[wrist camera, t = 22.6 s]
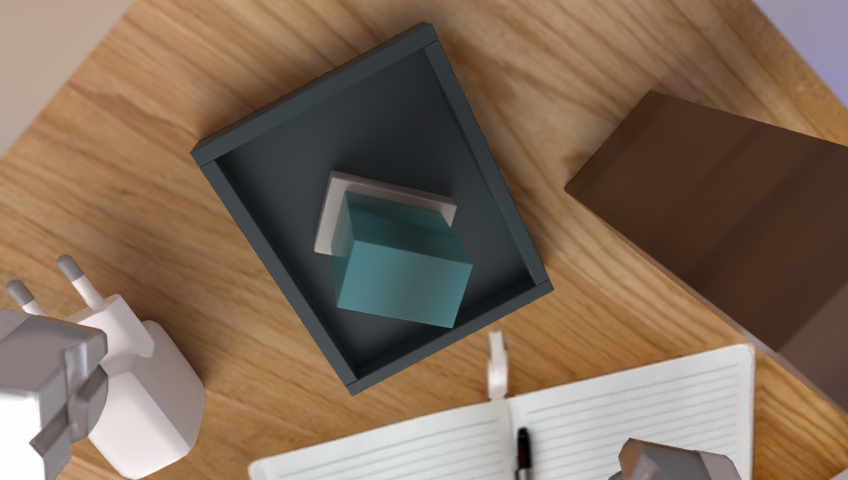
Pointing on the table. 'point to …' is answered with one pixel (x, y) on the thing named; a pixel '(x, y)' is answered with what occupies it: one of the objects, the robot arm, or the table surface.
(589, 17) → the table surface
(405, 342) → the tray
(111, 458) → the power adapter
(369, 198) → the eraser
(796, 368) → the stand
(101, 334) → the robot arm
